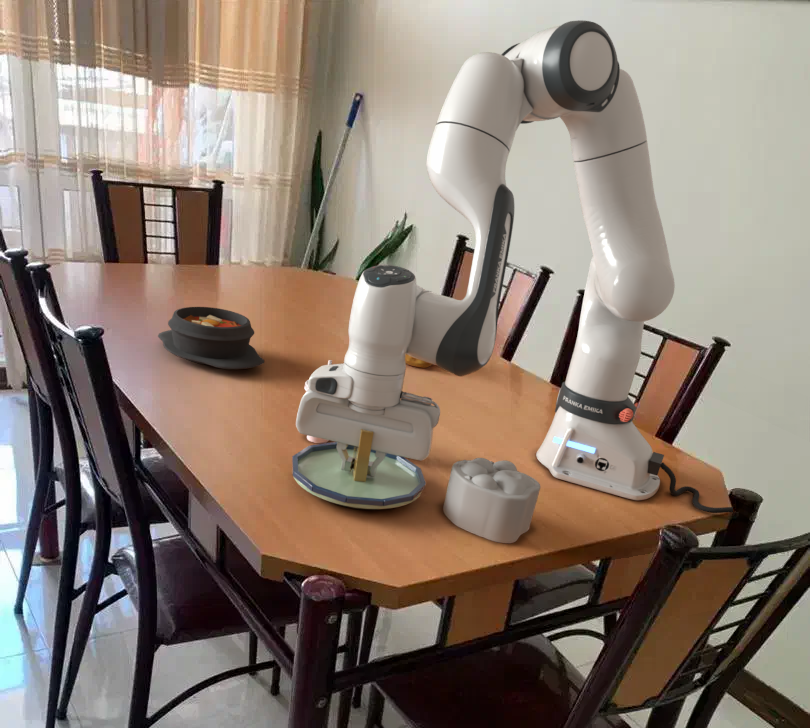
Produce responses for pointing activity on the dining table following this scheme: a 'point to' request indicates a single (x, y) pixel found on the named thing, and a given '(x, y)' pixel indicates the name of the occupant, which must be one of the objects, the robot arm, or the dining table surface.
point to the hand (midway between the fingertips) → (358, 472)
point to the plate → (346, 486)
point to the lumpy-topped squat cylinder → (491, 499)
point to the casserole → (211, 338)
